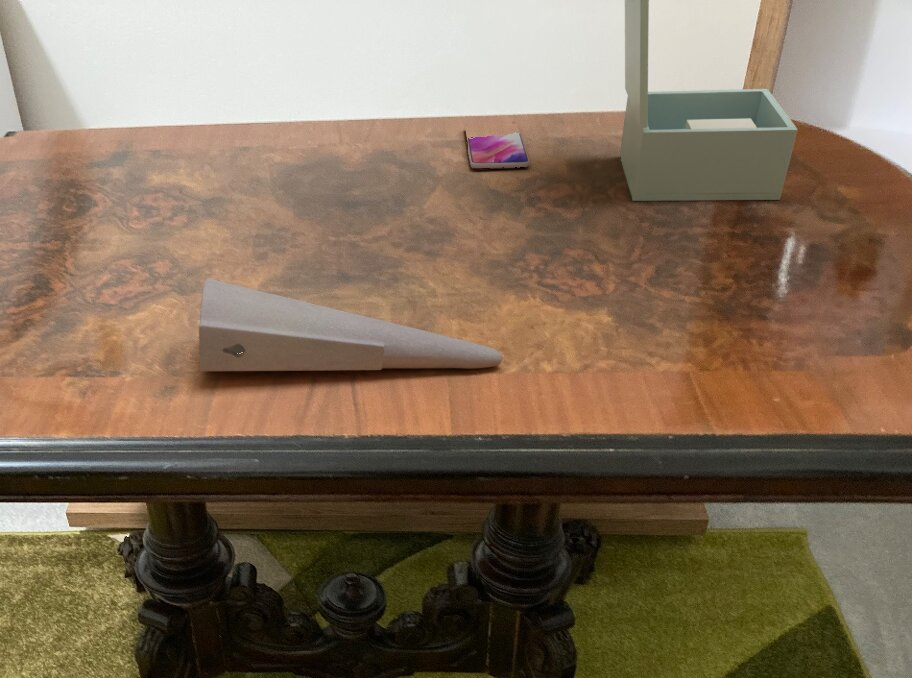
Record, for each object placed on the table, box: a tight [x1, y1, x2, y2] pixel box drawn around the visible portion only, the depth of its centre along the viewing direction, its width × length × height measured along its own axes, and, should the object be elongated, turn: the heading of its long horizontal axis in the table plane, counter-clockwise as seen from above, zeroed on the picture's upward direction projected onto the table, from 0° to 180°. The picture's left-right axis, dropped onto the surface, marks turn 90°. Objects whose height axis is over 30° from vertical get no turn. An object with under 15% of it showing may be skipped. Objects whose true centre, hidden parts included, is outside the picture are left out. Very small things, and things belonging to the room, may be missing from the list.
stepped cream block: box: [685, 118, 757, 129], centre depth 106 cm, size 11×5×5 cm, turn 82°
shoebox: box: [619, 88, 799, 202], centre depth 105 cm, size 16×14×8 cm
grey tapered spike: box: [198, 277, 503, 372], centre depth 81 cm, size 8×9×26 cm
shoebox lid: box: [624, 0, 650, 128], centre depth 100 cm, size 16×14×5 cm
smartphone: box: [467, 132, 530, 169], centre depth 119 cm, size 7×1×15 cm
